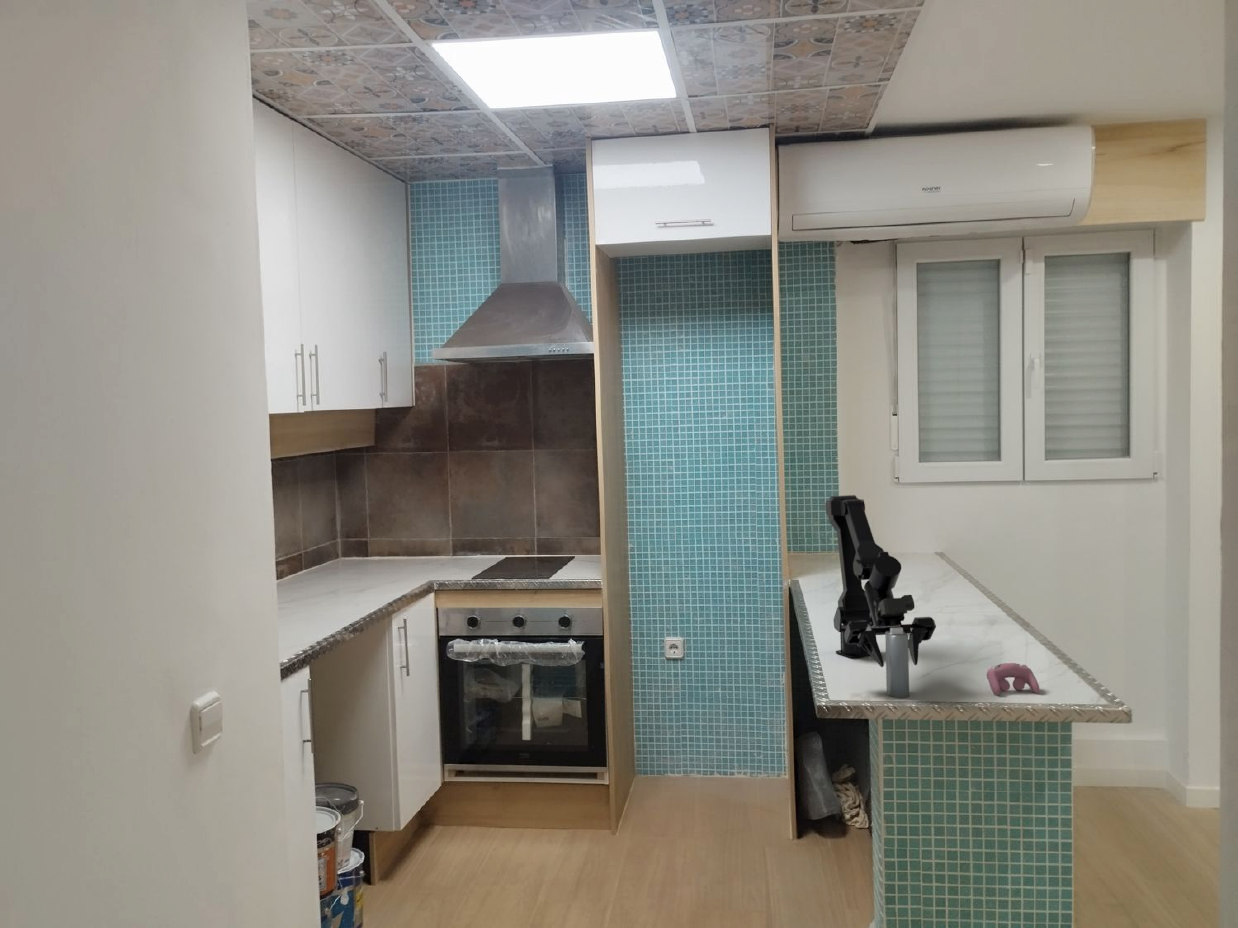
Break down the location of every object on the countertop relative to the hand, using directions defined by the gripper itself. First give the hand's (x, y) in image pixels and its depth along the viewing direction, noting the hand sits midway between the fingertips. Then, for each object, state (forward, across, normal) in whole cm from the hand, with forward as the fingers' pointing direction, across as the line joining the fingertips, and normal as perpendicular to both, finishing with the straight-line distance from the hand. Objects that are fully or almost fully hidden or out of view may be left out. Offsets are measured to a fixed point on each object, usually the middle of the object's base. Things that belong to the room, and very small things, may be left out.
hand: (899, 665), depth 213 cm
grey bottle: (+4, 0, +6) cm, 7 cm away
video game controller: (+6, +24, +4) cm, 25 cm away
